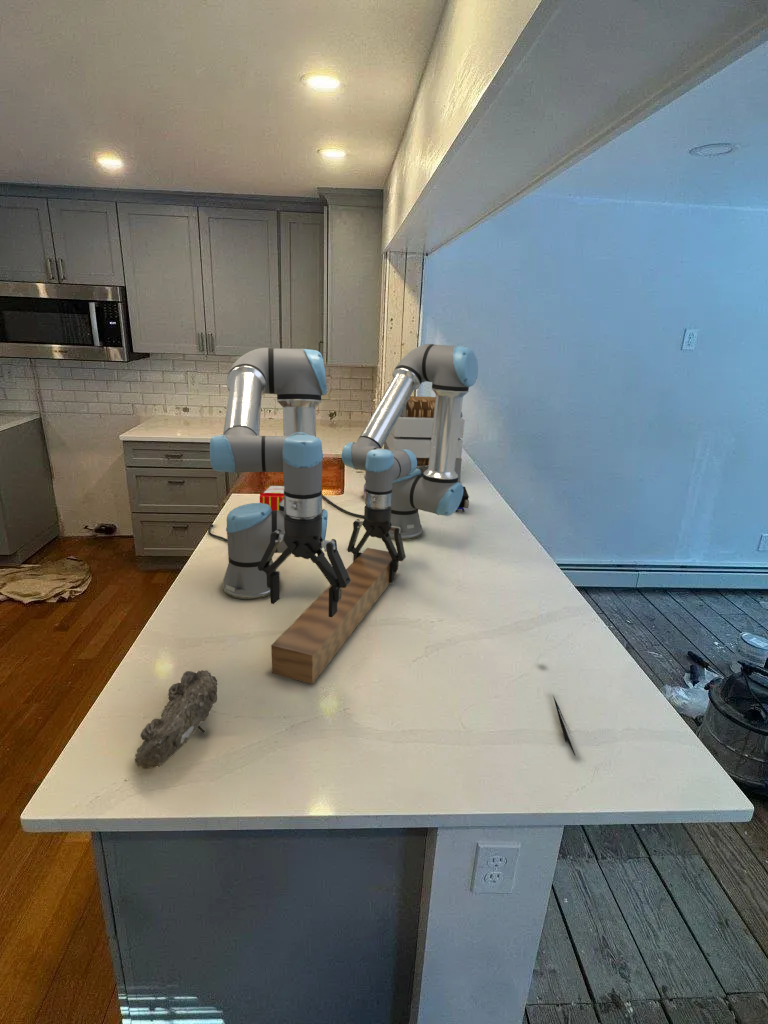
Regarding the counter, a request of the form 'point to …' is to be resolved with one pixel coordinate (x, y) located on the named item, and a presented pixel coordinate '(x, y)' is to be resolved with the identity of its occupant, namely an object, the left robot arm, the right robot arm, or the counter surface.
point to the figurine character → (464, 500)
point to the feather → (563, 726)
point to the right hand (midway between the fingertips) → (375, 577)
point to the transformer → (419, 431)
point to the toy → (272, 496)
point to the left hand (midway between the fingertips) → (303, 607)
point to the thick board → (331, 620)
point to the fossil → (178, 718)
